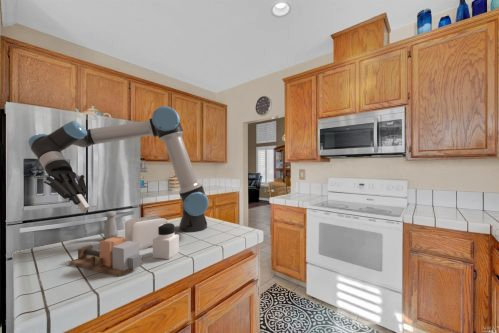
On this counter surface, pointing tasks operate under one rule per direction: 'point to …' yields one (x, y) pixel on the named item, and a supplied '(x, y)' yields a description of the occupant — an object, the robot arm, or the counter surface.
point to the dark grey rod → (92, 252)
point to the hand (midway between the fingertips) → (86, 209)
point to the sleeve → (109, 249)
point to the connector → (126, 255)
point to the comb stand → (96, 263)
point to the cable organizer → (143, 230)
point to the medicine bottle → (165, 242)
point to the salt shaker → (110, 225)
